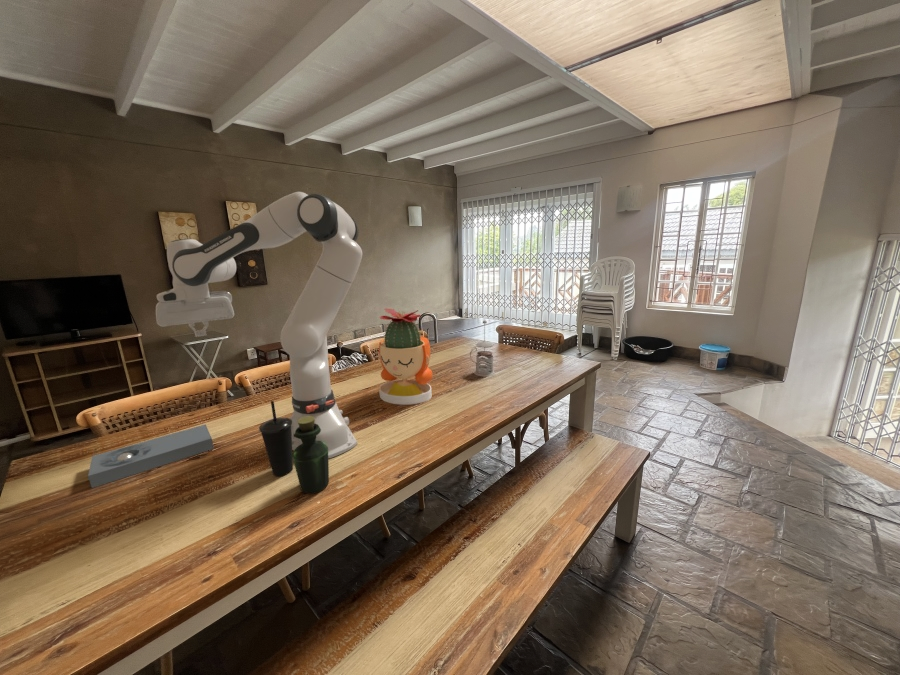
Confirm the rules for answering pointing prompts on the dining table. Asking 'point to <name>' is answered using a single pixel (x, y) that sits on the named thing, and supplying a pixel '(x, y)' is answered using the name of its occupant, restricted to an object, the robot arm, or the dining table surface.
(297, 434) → the potion bottle
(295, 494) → the dining table surface
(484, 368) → the french press
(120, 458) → the ball
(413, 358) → the potted cactus
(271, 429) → the drinking cup
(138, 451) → the grey flat block
